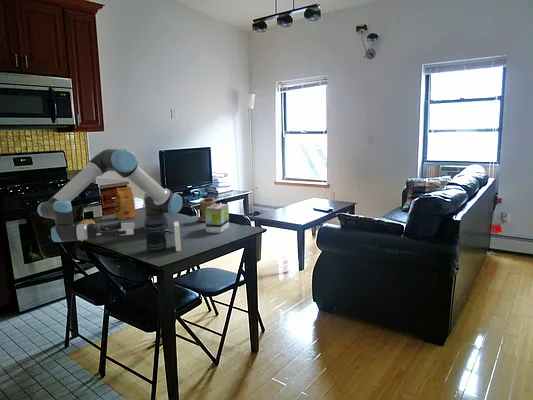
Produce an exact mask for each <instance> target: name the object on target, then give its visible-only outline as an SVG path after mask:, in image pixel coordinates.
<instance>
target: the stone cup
mask: <svg viewBox="0 0 533 400" xmlns="http://www.w3.org/2000/svg"><path fill="white" fill-rule="evenodd" d="M213 204H216V200H215V199H214V198H213V197H206V198H203V199H201V200H200V201H199V210H200V213H201V216H198V217H197V221H199V222H206V213H205V208H207V207H209V206H211V205H213Z"/></svg>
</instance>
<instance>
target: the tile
mask: <svg viewBox="0 0 533 400" xmlns="http://www.w3.org/2000/svg"><path fill="white" fill-rule="evenodd" d="M173 230H174V231H173V233H174V245H175V246H174V247H175V251H176V252H182V244H181V243H182V242H181V228H180V223H179V221H178V220H177V221H173Z"/></svg>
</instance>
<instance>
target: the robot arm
mask: <svg viewBox="0 0 533 400" xmlns="http://www.w3.org/2000/svg"><path fill="white" fill-rule="evenodd" d="M108 172H115V173H116V174H118V175H119V176H120V177H121V178H124V179H126V178H127V179H128V180H130V181H131V182H132V183H133V184H134V185H135V186H137V187H138V188H139V189H140V190H141V191H143V192H144V196H143V197H144V198H143V200H144V212H145V218H144V223H143V229H144V230H145V222H146V221H150V220H164V221H165V229H167V228H169V227H170V225H169V224H170V223H169V221H168V218H167V215H166V214H169V215H170V214H171V215H172V214H173V215H175V214H178V213H179V212H180V211H181V210H182V208H183V197H182V196H181V195H179V194H177V193H173V192H172V191H171V190H170V189H168V188H163V186H162V185H161V184H159V183H158V182H157V181H156V180H155V179H153V177H152V176H150V175H149V174H148V173H146V171H145V170H143V168H141V167H140V166H139V162H138V160H137V157H136V155H135V154H134V153H133V152H132V151H131V150H129V149H124V148H113V149H112V148H107V149H104V150H102V151H100V152H98V153H97V154H96V155H94V156H93V157H92V158H91V159H90V160H89V161H88V162H87V163H86V166H85V167H84V168H83V169H82V170H81V171H80V172H79V173H77V175H75V176H74V177H73V178H72V179H71V180H70V181H69V182H67V183H66V184H65V185H64V186H63V187H62V188H60V190H59V191H58V192H56V193H55V194H54V195H53V196H51V198H50V199H49V200H48V201H43V202H40V204H38V206H37V214H38V215H39V216H40V217H43V218H45V219H51V220H54V221H55V225H54V226H52V227H51V228H50V237H51V240H52V241H53V242H54V243H61V242H62V243H65V242H74V241H81V242H83V241H85V240H97V239H98V238H99V237H100V238H101V237H105V238H107V237H108V238H109V237H110V238H119V237H120V236H128V235H134V234H135V233H134V229H135V228H136V225H135V222H124V223H123V222H122V221H119V222H116V223H109V224H104V225H103V224H101V225H99V227H98V225H97V223H96V224H88V225H87V224H81V225H79V224H74V218H73V206H72V203H71V202H72V201H73V200H74V199H76V197H78V196H79V194H81V192H83V191H84V190H85V189H86V188H88V186H89V185H90V184H91V183H92V182H93V181H95V180H96V179H97V178H98V177H102V176H103V175H104V174H105V173H108Z"/></svg>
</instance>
